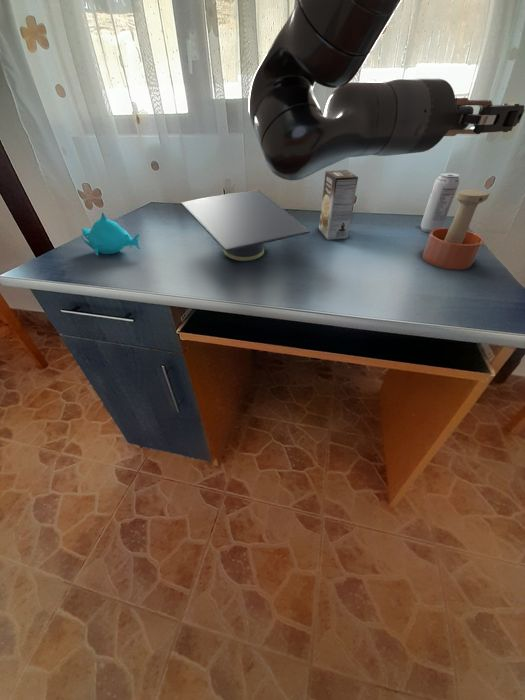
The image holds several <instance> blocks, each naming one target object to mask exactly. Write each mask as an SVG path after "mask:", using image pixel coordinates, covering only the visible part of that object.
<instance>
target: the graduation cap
mask: <svg viewBox="0 0 525 700" xmlns="http://www.w3.org/2000/svg"><path fill="white" fill-rule="evenodd" d="M180 205H181V207H183V208H184V209H185V210H186V211H187V213H188V214H190V215H191V217H192V218H193V219H194V220H195V221H196V222H197V223H198V224H199V225H200V226H201V227H202V228H203V230H205V232H207V234H208V235H209V236H210V237H211V238H212V239H213V240H214V241H215V242H216V243H217V244H218V245H219V247H221V248H222V249H223V253H224V255H225V256H226V257H227V258H230V259H232V260H234V261H240V262H241V261H242V262H246V261H253V260H256V259H259V258H261V257H262V256H263V255H264V254H265V247H264V244H268V243H272V242H276V241H280V240H281V241H282V240H285V239H286V240H287V239H290V238H294V237H299V236H303V235H308V234H310V232H311V231H310V230H309V229H308V228H307V227H306V226H304V224H302V223H300V222H299V221H298V220H297V219H296V218H295V217H293V216H292V215H291V214H290V213H288V211H286V210H285V209H283V208H282V207H281V206H280V205H278V204H277V203H276V202H275V201H274V200H273V199H271V197H269V196H268V195H267V194H265V193H264V192H263V191H262V190H250V191H249V190H248V191H241V192H232V193H225V194H219V195H213V196H206V197H201V198H197V199H191V200H187V201H186V200H185V201H182V202H180Z"/></svg>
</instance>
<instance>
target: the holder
mask: <svg viewBox="0 0 525 700" xmlns="http://www.w3.org/2000/svg"><path fill="white" fill-rule="evenodd" d="M449 228H450V227H442V228H438V229H434V230H432V231H431V232H430V233H429V234H428V235H429V236H428V238H427V240H426V244H425V246H424V249H423V252H422V255H421V256H422V259H423V260H424V261H425V262H427V263H428V264H430V265H432V266H435V267H438V268H441V269H448V270H466V269H469V268H471V267H472V265H473V264H474V262H475V260H476V258H477V256H478V254H479V252H480V250H481V248H482V245H483V243H484V238H483V236H481V235H479V234H478V233H476V232H473V231H470V230H467V233H466V236H465V238H464V240H463V242H462V244H455V243H450V242H446V241H444V240H445V237H446V235H447V232H448V230H449Z"/></svg>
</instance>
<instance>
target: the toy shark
mask: <svg viewBox="0 0 525 700" xmlns="http://www.w3.org/2000/svg"><path fill="white" fill-rule="evenodd" d="M81 231H82V232H81V239H82V240H83V242H84V243H85V244H87V246H89V247H90V248H91V249H92V250H94V254H95V255H96V256H99V254H102V255H114V254H116V253H118V252H120V251H121V250H123V249H124V248H125V247H128V246H129V247H130V248H133V246H135V247H136V248H137V249H138V250H140V249H141V248H140V246H139V237H140V234H139V233H137V234H135V236H134V237H132V236H131V235H130V234H129V232H127V230H125V228H123V227H121V226H120V224H119V223H117V222H115V221H113V220H111V219H108V218H107V217H106V216H105V213H104V211H102V212H101V216H100V218H99V219H97V220H96V221H94V223H93V225H92V227H91V229H90V228H87V227H82V228H81Z"/></svg>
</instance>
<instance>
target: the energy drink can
mask: <svg viewBox="0 0 525 700" xmlns="http://www.w3.org/2000/svg"><path fill="white" fill-rule="evenodd" d="M459 177H460V174H458V173H453V172H441V173H440V174H439V176H438V177H437V178H436V179H435V181H434V183H433V187H432V190H431V193H430V195H429V199H428V202H427V204H426V206H425V207H426V208H425V210H424V214H423V217H422V219H421V222H420V225H419V226H420V228H421V231H423V232H426V233H429V234H430V232H431V231H432V230H434V229H438V228H444V227H443V226H444V224H445V221H446V219H447V216H448V213H449V211H450V209H451V205H452V204H453V201H454V198H455V195H456V192H457V190H458V187H459V185H460V178H459Z"/></svg>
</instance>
